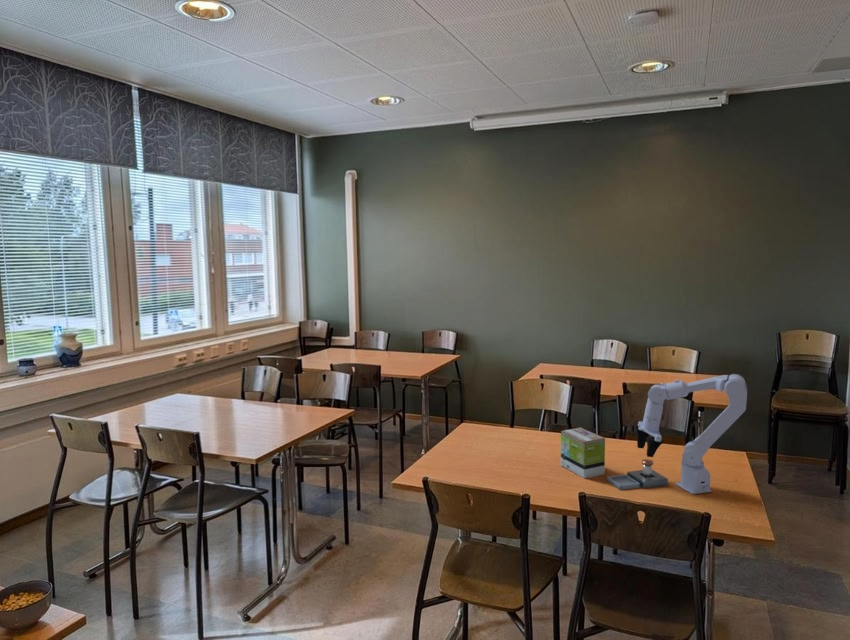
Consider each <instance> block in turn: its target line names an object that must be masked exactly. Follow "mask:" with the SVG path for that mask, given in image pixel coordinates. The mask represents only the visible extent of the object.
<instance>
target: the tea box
mask: <svg viewBox="0 0 850 640" xmlns="http://www.w3.org/2000/svg"><path fill="white" fill-rule="evenodd" d="M605 456H606V437H604V436H601V435H599V434H596V433H594V432H592V431H589V430H587V429H585V428H583V427H576V428H570V429H565V430H561V431H560V466H561V467H564V468H565V469H567V470H569V471H571V472H573V473H574V474H575V475H576V474H577V476H579V477H581V478H582V479H589V478H592V477H593V478H594V477H598V476H602V475H605V467H606V466H605V464H606V463H605V462H606V460H605V459H606V457H605ZM588 477H589V478H588Z"/></svg>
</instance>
